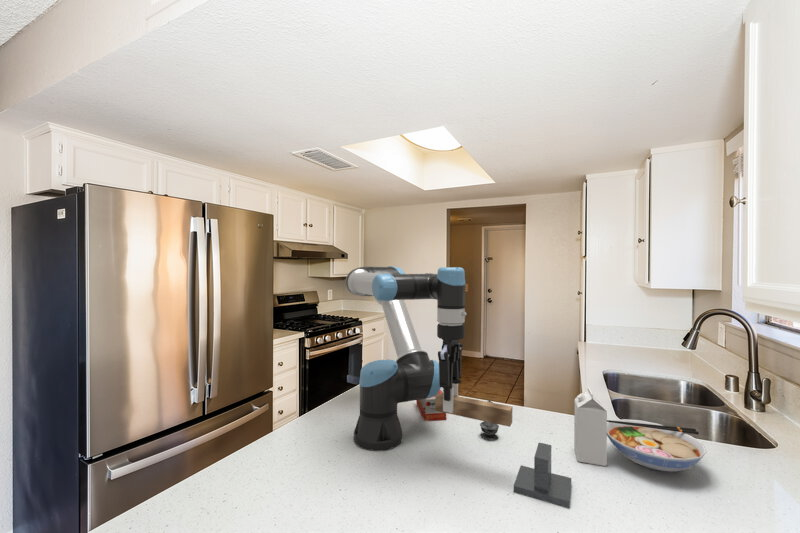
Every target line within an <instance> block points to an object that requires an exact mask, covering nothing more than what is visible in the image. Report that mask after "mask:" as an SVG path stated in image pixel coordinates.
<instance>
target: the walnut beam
mask: <svg viewBox="0 0 800 533" xmlns="http://www.w3.org/2000/svg"><path fill="white" fill-rule="evenodd" d="M491 402H492V401H491ZM491 402H487V401H486V400H480V399H474V398H470V397H469V398H468V397H463V396H460V395H458V396H454V400H453V413H449V412H444V411H443V393H439V394H438V395H436V396H435V411H439V412H443V413H446V414H448V415H454V416H459V417H463V418H467V419H472V420H476V421H481V422H484V421H485V422H490V423H495V424H498V425H499V426H500V425H501V426H504V427H511V425H512V424H513V406H511V405H506V404H501V403H500V404H499V403H496V402H493V403H491Z"/></svg>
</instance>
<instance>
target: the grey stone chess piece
mask: <svg viewBox="0 0 800 533" xmlns="http://www.w3.org/2000/svg"><path fill="white" fill-rule="evenodd" d="M486 402H491V403H494V402H493V401H492V400H491V398H489V399H488V400H487V401H486ZM479 426H480V429H481V432H482V433H481V434H480V437H481V439H482V440H486V441H490V442H494V441H497V440H498V439H499V436H498V435H497V433H498V432H499V428H500V425H499V424H495V423H490V422H485V421H481V422H480V423H479Z"/></svg>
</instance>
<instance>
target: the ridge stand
mask: <svg viewBox="0 0 800 533" xmlns="http://www.w3.org/2000/svg"><path fill="white" fill-rule="evenodd" d="M535 450H536V451H535V454H534V457H533V458H534V462H533V463H534V467H530V466H526V465H521V464H520V466H519V469H518V472H517V475H516V477H515V481H514V483H513V493H516V494H519V495H523V496H525V497H529V498H532V499H536V500H540V501H542V502H543V501H544V502H547V503H550V504H554V505H557V506H560V507H564V508H567V509H570V505H571V492H572V478H571V477H569V476H564V475H560V474H557V473H552V445H551V444H548V443H543V442H538V443H537V448H536V449H535Z"/></svg>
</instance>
